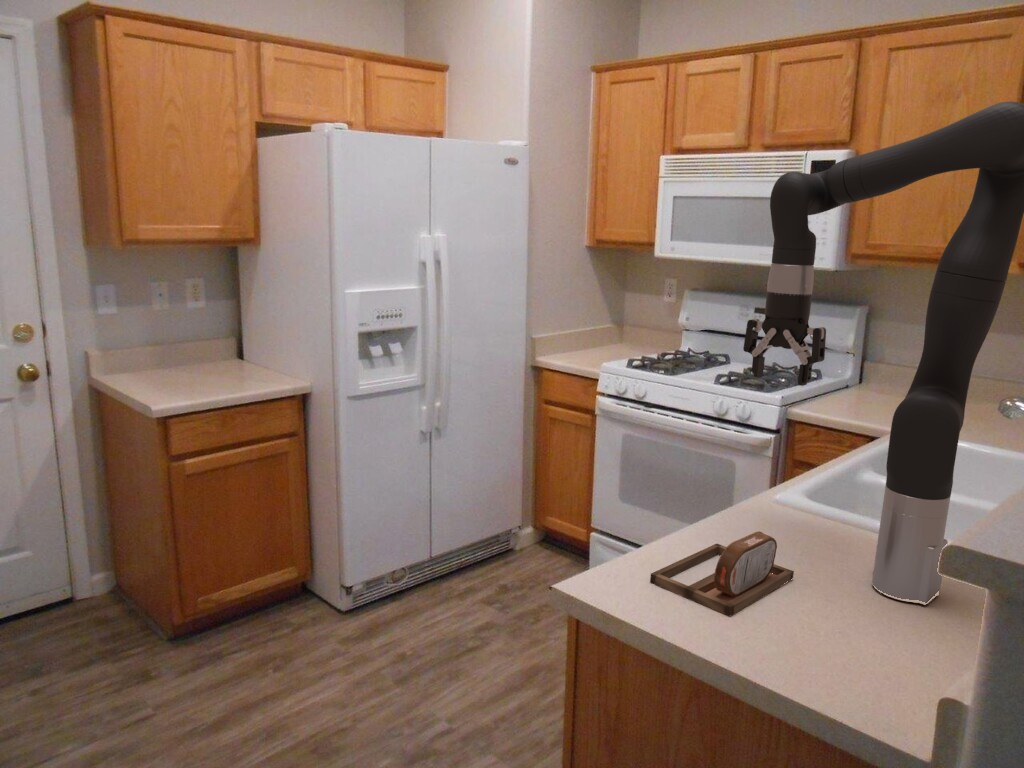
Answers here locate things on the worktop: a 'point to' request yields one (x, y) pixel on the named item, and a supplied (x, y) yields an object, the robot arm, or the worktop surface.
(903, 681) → the worktop surface
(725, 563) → the tin
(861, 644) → the worktop surface
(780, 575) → the rack
